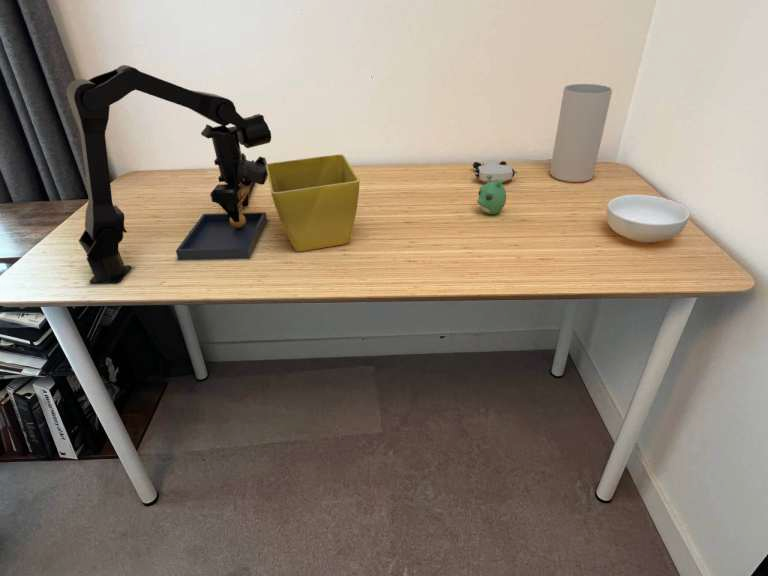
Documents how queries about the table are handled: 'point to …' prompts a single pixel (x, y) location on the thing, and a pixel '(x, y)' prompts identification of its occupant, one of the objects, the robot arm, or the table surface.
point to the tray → (222, 237)
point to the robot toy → (493, 170)
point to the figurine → (241, 217)
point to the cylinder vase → (579, 131)
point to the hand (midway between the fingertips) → (241, 213)
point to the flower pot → (315, 200)
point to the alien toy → (492, 196)
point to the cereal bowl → (646, 218)
